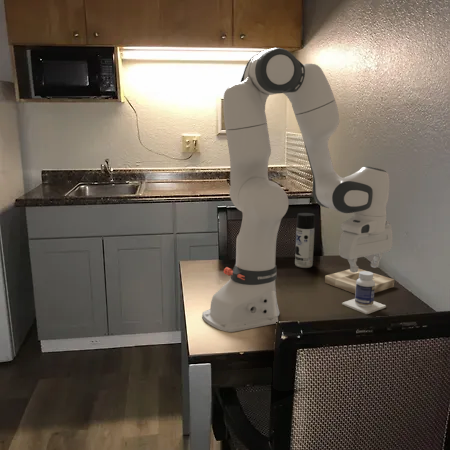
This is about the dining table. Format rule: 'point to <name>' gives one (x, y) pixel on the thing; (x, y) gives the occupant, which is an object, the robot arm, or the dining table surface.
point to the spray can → (304, 240)
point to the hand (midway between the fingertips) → (364, 269)
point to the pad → (364, 310)
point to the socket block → (348, 278)
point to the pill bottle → (365, 289)
